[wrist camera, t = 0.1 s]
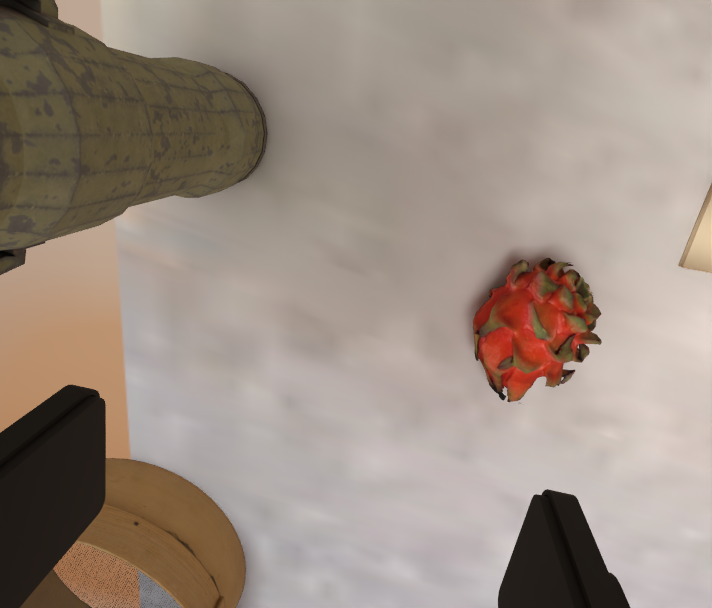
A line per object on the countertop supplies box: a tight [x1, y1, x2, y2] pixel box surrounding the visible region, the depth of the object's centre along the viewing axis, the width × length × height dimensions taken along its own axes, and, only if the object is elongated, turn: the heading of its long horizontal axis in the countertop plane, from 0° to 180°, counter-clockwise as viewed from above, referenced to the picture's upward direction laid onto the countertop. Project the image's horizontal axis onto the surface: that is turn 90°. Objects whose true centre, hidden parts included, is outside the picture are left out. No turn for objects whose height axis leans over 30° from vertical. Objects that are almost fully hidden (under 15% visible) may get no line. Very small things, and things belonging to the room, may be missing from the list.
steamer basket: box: [20, 458, 246, 608], centre depth 50 cm, size 25×25×11 cm
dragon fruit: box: [473, 258, 601, 404], centre depth 38 cm, size 8×8×12 cm
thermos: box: [0, 0, 267, 275], centre depth 23 cm, size 9×12×35 cm
